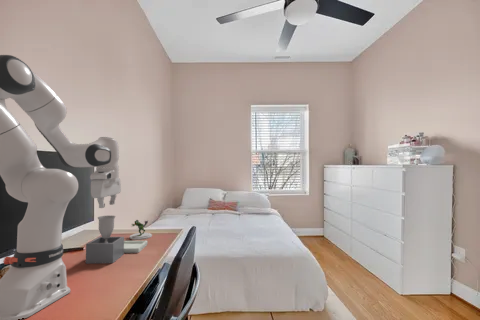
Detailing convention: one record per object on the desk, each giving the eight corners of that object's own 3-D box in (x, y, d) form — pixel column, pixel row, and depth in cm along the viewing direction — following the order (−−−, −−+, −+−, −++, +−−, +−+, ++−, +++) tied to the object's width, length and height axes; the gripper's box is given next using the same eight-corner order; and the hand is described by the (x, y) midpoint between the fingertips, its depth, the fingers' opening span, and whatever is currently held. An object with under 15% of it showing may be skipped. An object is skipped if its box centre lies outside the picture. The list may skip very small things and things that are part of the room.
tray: (138, 252, 119) (138, 248, 119) (110, 253, 118) (110, 248, 118) (147, 244, 132) (147, 240, 132) (121, 244, 131) (121, 240, 131)
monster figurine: (125, 237, 146) (125, 219, 146) (144, 233, 155) (144, 216, 156) (137, 241, 139) (137, 222, 139) (156, 236, 148) (156, 218, 148)
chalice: (92, 259, 110) (93, 217, 110) (107, 255, 116) (108, 215, 116) (103, 262, 106) (104, 219, 107) (118, 257, 112) (119, 216, 113)
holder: (112, 263, 106) (113, 243, 106) (85, 263, 105) (86, 243, 105) (123, 254, 117) (124, 236, 117) (99, 254, 116) (99, 236, 116)
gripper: (111, 173, 122) (110, 202, 122) (87, 175, 102) (87, 210, 102) (124, 173, 123) (124, 202, 122) (103, 175, 102) (103, 210, 102)
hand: (107, 206), depth 112 cm, fingers open, 8 cm apart
